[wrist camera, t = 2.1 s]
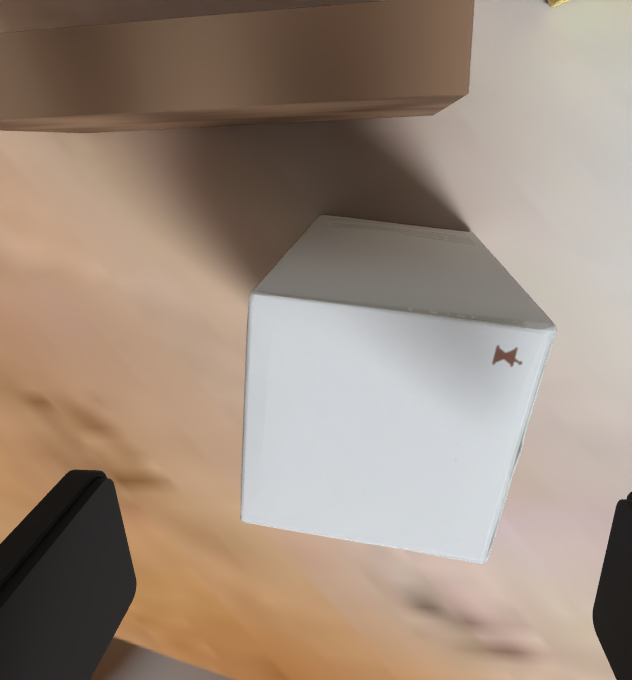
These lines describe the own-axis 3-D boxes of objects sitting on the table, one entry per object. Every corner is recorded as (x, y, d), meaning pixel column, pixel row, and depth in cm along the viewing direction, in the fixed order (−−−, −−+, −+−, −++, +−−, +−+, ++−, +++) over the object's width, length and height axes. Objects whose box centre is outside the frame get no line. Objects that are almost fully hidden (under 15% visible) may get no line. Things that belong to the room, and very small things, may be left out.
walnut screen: (435, 61, 20) (474, -8, 11) (433, 115, 21) (468, 93, 12) (74, 85, 22) (-145, 45, 13) (83, 133, 23) (-119, 126, 14)
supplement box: (316, 210, 23) (244, 279, 11) (477, 230, 22) (574, 324, 11) (302, 354, 26) (231, 527, 14) (444, 375, 25) (493, 574, 14)
